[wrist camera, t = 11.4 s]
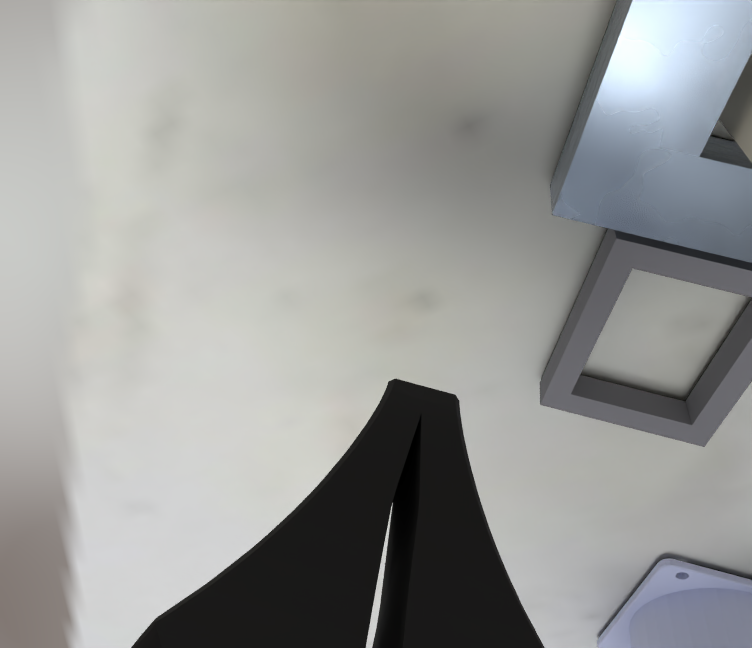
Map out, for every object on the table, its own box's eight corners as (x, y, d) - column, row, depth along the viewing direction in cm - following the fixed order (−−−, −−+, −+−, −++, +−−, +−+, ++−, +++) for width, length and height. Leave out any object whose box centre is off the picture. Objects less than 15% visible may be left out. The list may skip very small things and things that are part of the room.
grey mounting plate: (804, 265, 19) (819, 287, 18) (697, 422, 23) (704, 446, 22) (611, 219, 19) (616, 238, 18) (539, 382, 23) (540, 404, 22)
